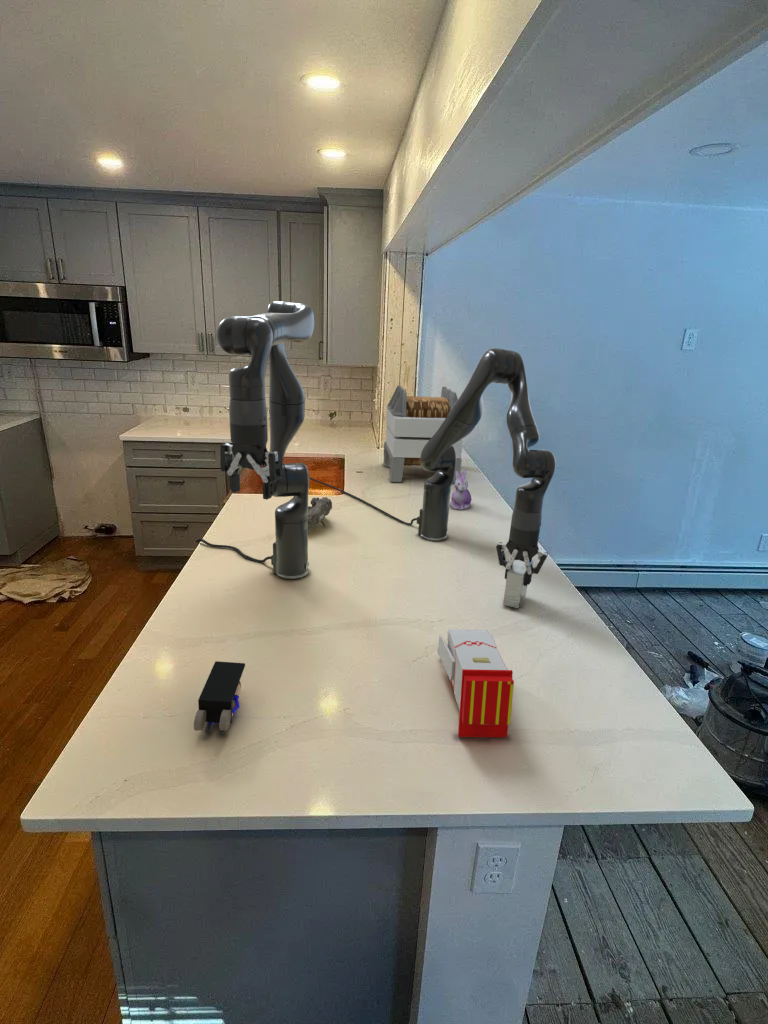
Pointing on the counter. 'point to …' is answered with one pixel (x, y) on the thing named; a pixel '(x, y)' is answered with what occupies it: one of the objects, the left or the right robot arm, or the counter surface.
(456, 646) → the toy
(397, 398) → the grey slatted box
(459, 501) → the figurine
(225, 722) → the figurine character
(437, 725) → the counter surface
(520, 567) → the block
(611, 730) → the counter surface
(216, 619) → the counter surface
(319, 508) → the fossil
